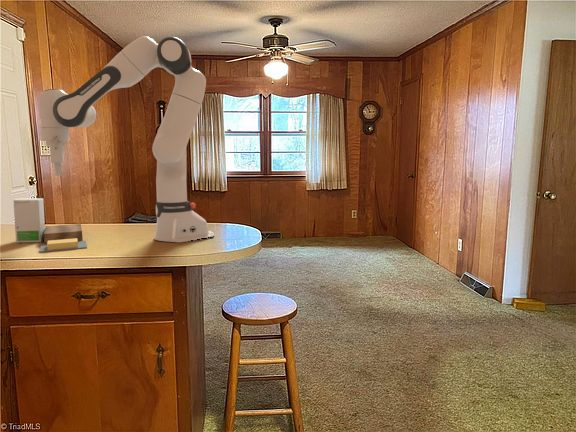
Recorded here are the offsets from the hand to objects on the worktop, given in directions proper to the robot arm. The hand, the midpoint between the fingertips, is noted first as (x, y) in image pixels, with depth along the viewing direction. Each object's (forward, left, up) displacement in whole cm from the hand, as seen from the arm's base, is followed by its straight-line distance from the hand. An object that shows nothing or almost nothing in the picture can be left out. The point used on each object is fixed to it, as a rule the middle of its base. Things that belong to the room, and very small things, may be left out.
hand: (58, 175), depth 148 cm
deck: (0, -2, -24) cm, 24 cm away
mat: (0, +12, -24) cm, 27 cm away
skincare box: (+11, -4, -24) cm, 27 cm away
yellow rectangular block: (0, +14, -22) cm, 26 cm away
